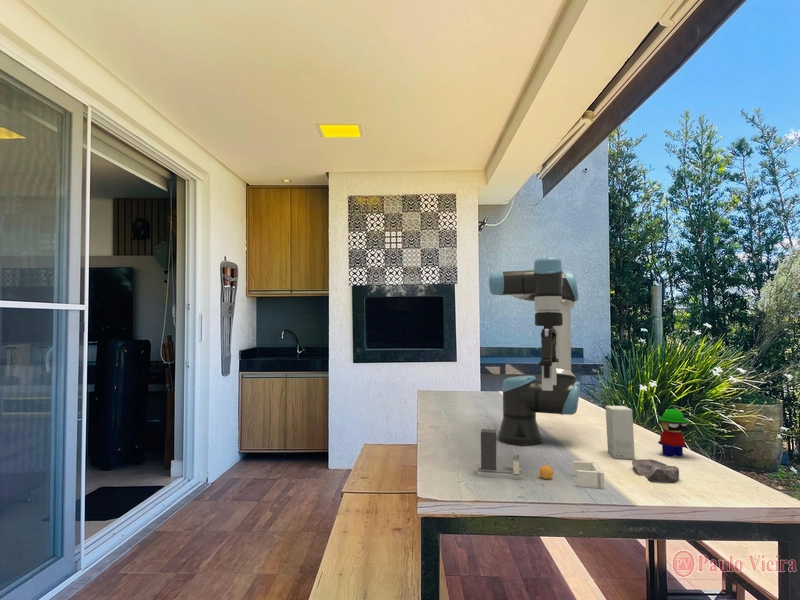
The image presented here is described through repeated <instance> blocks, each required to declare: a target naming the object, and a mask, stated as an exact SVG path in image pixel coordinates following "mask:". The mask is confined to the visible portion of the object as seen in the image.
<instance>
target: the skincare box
mask: <svg viewBox="0 0 800 600" xmlns="http://www.w3.org/2000/svg"><path fill="white" fill-rule="evenodd" d="M633 418H634V417H633V409H632V408H629V407H627V406H626V405H605V421H606V422H605V423H606V437H607V438H606V439H607V441H606V442H607V453H608V454H609V455H610V456H611V457H612V458H613V459H615V460H618V459H619V460H636V457H635V453H636V452H635V438H634V437H635V435H634V420H633Z"/></svg>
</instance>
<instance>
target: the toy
mask: <svg viewBox="0 0 800 600" xmlns="http://www.w3.org/2000/svg"><path fill="white" fill-rule="evenodd" d="M657 420H658V421H660V422H661V426H662V427H663V429H664V430H663V431H662V433H660V438H659V440H658V441H657V443H658V444H659V445H661V448H662V449H661V450H662V456H665V457H669V458H670V457H671V458H672V457H683V456H684V454H683V450H684V449H683V448H686V447H687V444H686V440H685V437H684V436H683V433H682V432H686V431H688V424H689V423H690V422H691V421H690V420H689V419H686V418H685V416H684V414H683V413H682V412H681V410H679V409H676V408H669V409H668V408H667V409H666V410H665V411H664V412H663V414H662V416H661V417H660V416H659V417H658V418H657Z"/></svg>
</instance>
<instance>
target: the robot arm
mask: <svg viewBox="0 0 800 600" xmlns="http://www.w3.org/2000/svg"><path fill="white" fill-rule="evenodd" d="M488 278H489V280H488V285H489V286H488V287H489V291H490V294H491V295H492V296H512V297H514V298H515V299H519V300H522V301H529V302H534V311H535V314H534V325H535V326H537V327H539V326H540V327H543V328H542V329H541V332H540V339H541V341H540V342H541V355H540V356H541V357H540V359H541V360H540V361H539V362H538V366H539V367H541V379H537V378H536V376H535V375H519V376H517V375H516V376H510V377H507V378H505V379H504V380H503V382H502V391H501V392H502V412H503V413H502V421H501V426H500V430H499V431H498V440H499V441H500V442H502V443H505V444H509V445H516V446H533V445H538V444H541V443H542V435H541V433H540V429H539V426H538V423H537V415H536V414H537V413H538V414H539V413H540V414H553V415H561V416H564V415H567V416H571V415H575V414H576V413H577V412H578V406H579V399H580V390H581V389H580V388H581V382H580V381H577V379H576V378H577V377H576V375H575V374H574V373H573V372H572V346H571V345H572V342H571V341H572V339H571V337H572V335H571V334H572V333H571V330H572V329H571V328H572V327H571V323H572V322H571V310H572V308H574V307H575V303H576V302H578V301H579V292H578V286H577V285H578V284H577V277H576V274H575V273H574V272H573V271H572V270H563V267H562V260H561V259H560V258H559V257H555V256H553V257H551V256H549V257H548V256H547V257H539V258H537V259H535V260H534V265H533V269H532V270H531V269H528V270H510V271H509V270H507V271H502V270H500V271H494V272H491V273H490V274H489V277H488Z"/></svg>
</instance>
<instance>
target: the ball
mask: <svg viewBox="0 0 800 600" xmlns="http://www.w3.org/2000/svg"><path fill="white" fill-rule="evenodd" d="M538 472H539V476H540V477H541V478H542V479H544V480H549V479H551V478H553V475H554V471H553V468H552V467H550V466H549V465H542V466H541V467H540V468H539V471H538Z"/></svg>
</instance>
